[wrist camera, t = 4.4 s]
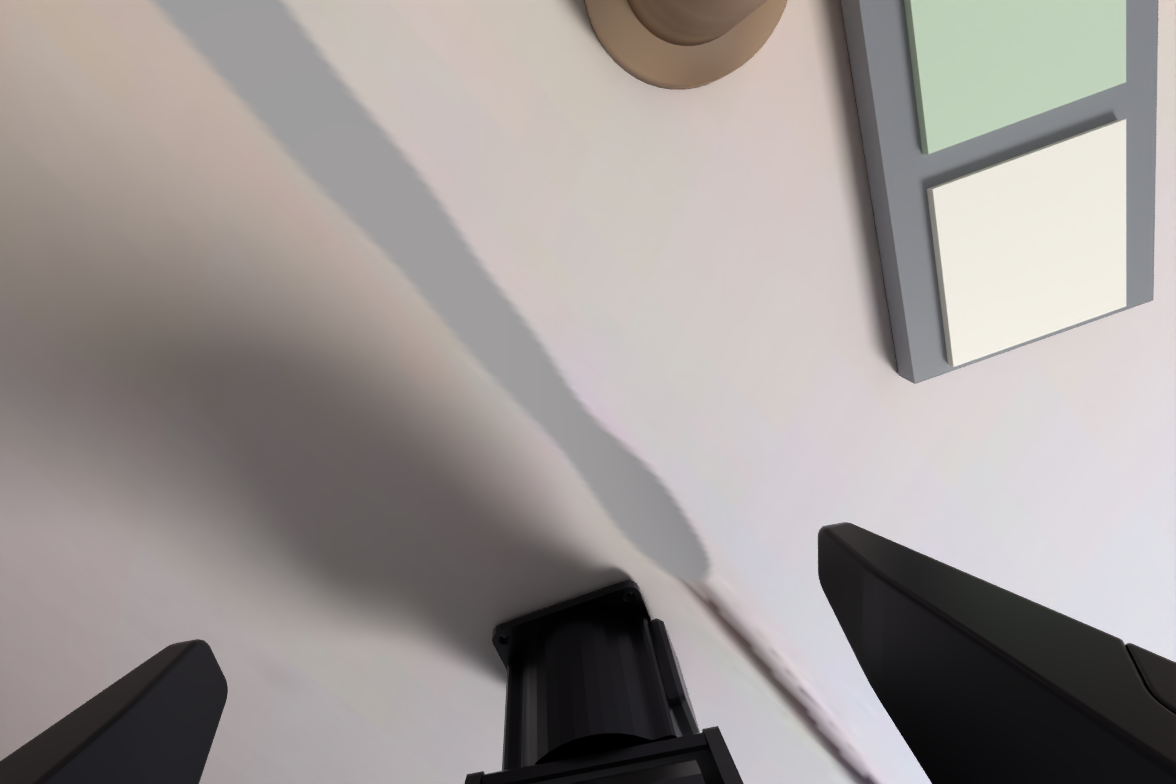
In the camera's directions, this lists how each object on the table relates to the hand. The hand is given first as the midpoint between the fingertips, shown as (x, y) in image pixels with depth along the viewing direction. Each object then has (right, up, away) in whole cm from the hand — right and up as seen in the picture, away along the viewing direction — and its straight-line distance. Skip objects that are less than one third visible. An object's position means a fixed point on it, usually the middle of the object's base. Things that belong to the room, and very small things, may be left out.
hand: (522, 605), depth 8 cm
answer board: (+14, +15, +10) cm, 22 cm away
